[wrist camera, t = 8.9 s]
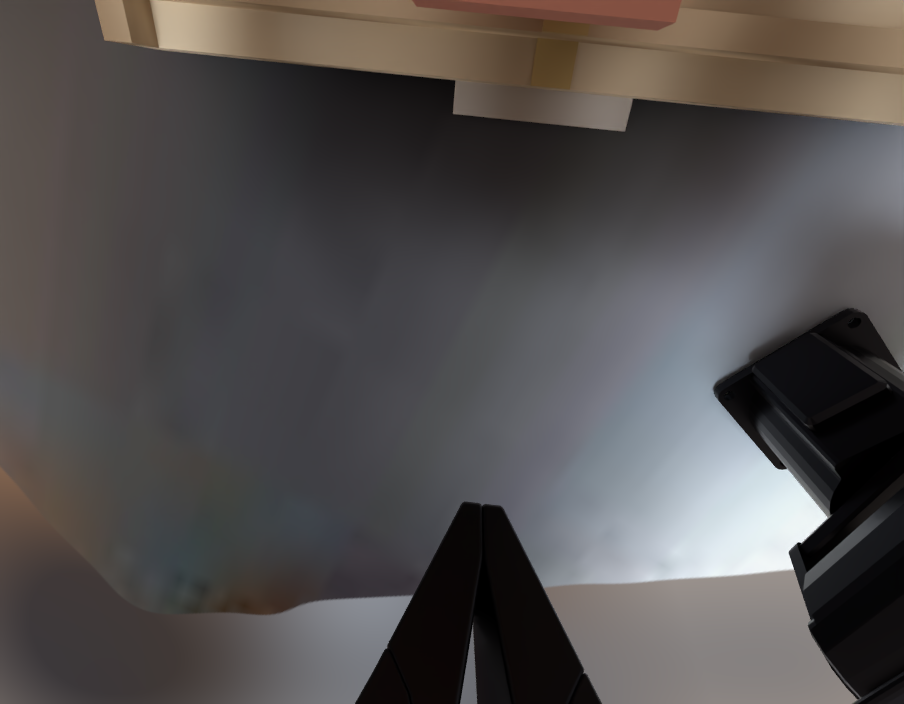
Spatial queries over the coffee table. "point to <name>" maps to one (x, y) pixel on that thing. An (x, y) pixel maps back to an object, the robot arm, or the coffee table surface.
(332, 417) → the coffee table surface
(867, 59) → the beam
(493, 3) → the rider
